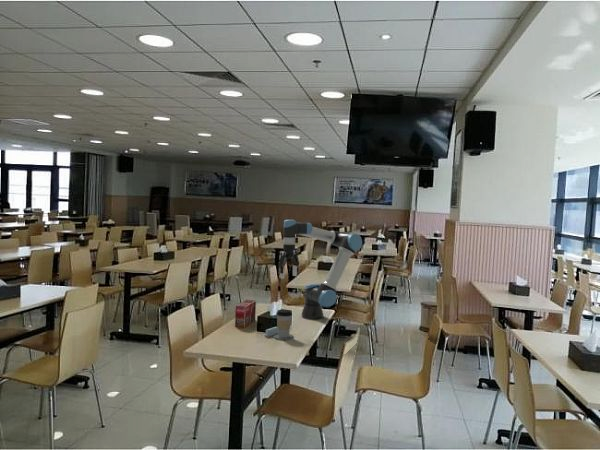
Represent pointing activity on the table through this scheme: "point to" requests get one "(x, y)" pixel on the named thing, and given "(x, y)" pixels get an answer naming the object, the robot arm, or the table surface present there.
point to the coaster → (283, 338)
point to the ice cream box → (245, 313)
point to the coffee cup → (283, 322)
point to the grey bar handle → (271, 331)
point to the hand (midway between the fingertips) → (288, 277)
